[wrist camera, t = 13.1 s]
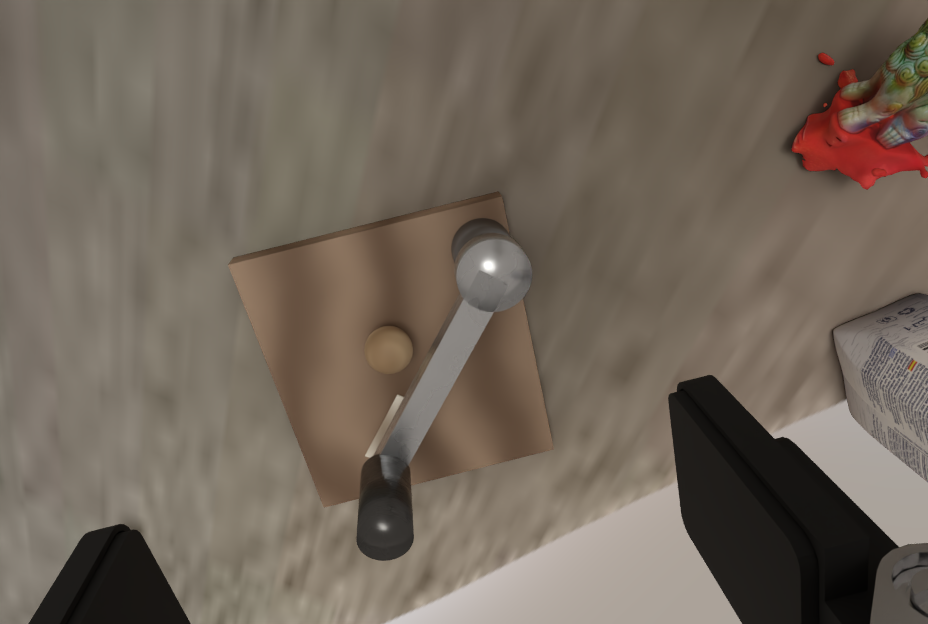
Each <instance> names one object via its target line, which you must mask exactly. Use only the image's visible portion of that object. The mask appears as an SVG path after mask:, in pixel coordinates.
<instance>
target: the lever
mask: <svg viewBox="0 0 928 624" xmlns="http://www.w3.org/2000/svg"><path fill="white" fill-rule="evenodd" d="M454 273H455V279H456V282H457V286H458V289H459V292H460V293H459V295H458V297H457V299H456V301H455V302H454V304H453V306H452V308H451V310H450V312H449V314H448V316H447V317H446V319H445V321H444V323H443V325H442V327H441V329H440V331H439V332H438V334H437V336H436V338H435V340H434V342H433V344H432V346H431V347H430V349H429V351H428V353H427V355H426V357H425V359H424V361H423V362H422V364H421V366H420V368H419V370H418V372H417V374H416V376H415V377H414V379H413V381H412V383H411V385H410V387H409V389H408V391H407V392H406V394H405V396H404V398H403V400H402V402H401V404H400V406H399V408H398V409H397V411H396V413H395V415H394V417H393V419H392V421H391V423H390V424H389V426H388V428H387V430H386V432H385V434H384V436H383V438H382V439H381V441H380V443H379V445H378V447H377V449H376V451H375V453H374V454H373V456H372V457H370V458H369V459H368V460H367V461H366V462H365V463H364V465H363V467H362V469H361V478H360V494H359V509H358V524H357V545H358V547H359V549H360V550H361V552H362V553H363V554H365V555H366V556H368V557H370V558H372V559H375V560H382V561H385V560H392V559H396V558H398V557H400V556H402V555H404V554H405V553H406V552H407V551H408V550H409V549H410V547H411V546H412V543H413V539H414V534H413V513H412V493H411V472H410V467H409V464H410V462H411V460H412V458H413V456H414V455H415V453H416V451H417V449H418V447H419V446H420V444H421V442H422V440H423V438H424V437H425V435H426V433H427V431H428V429H429V428H430V426H431V424H432V422H433V420H434V419H435V417H436V415H437V413H438V411H439V410H440V408H441V406H442V404H443V403H444V401H445V399H446V397H447V395H448V394H449V392H450V390H451V388H452V386H453V385H454V383H455V381H456V379H457V377H458V376H459V374H460V372H461V370H462V368H463V367H464V365H465V363H466V361H467V359H468V358H469V356H470V354H471V352H472V350H473V349H474V347H475V345H476V343H477V341H478V340H479V338H480V336H481V334H482V332H483V331H484V329H485V327H486V325H487V324H488V322H489V320H490V318H491V316H492V315H493V313H494V312H499V311H504V310H507V309H509V308H511V307H513V306H514V305H516V304H517V303H519V302H520V301H521V300H522V299H523V297H524V296H525V295H526V293H527V292H528V290H529V288H530V285H531V281H532V268H531V264H530V261H529V259H528V257H527V255H526V254H525V252H524V251H523V249H522V248H521V246H520V245H519V244H518V243H517V242H516V241H515V240H513V239H512V238H510V237H509V236H506V235H503V234H500V233H486V234H482V235H479V236H476V237H474V238H473V239H471V240H470V241H468V242H467V243H466V244H465V245H464V246H463V247H462V248H461V250H460V251H459V253H458V255H457V257H456V261H455V266H454Z"/></svg>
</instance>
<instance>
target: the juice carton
mask: <svg viewBox="0 0 928 624" xmlns="http://www.w3.org/2000/svg"><path fill="white" fill-rule="evenodd" d="M833 335H834V342H835V347H836V351H837V354H838V358H839V361H840V364H841V368H842V372H843V377H844V383H845V390H846V397H847V402H848V406H849V410H850V413H851V415H852V416H853V418H854V419H855V420H856V421H857V422H858V423H859V424H860V425H861V426H862V427H863V428H864V429H865V430H866V431H867V432H868V433H869V434H870V435H871V436H873V438H875V439H876V440H877V441H878V442H880V443H881V444H882V445H883V446H884V447H885V448H887V449H888V450H889V451H890V452H892V453H893V454H894V455H895V456H897V457H898V458H899V459H900V460H901V461H902V462H904V463H905V464H906V465H907V466H909V467H910V468H911V469H912V470H913V471H915V472H916V473H917V474H918V475H920V476H921V477H922V478H923V479H924V480H926V481H927V482H928V295H926V294H921V293H919V294H914V295H911V296H908V297H906V298H904V299H901V300H899V301H897V302H895V303H893V304H890V305H888V306H886V307H884V308H882V309H880V310H877V311H875V312H873V313H870V314H868V315H865V316H863V317H860V318H857V319H855V320H852V321H850V322H847V323H845V324H843V325H841V326H839V327H837V328H835V329H834V331H833Z"/></svg>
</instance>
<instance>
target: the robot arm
mask: <svg viewBox="0 0 928 624" xmlns="http://www.w3.org/2000/svg"><path fill="white" fill-rule="evenodd" d="M668 400H669V410H670V419H671V428H672V437H673V445H674V454H675V463H676V472H677V480H678V489H679V498H680V507H681V514H682V519H683V522H684V525H685V528H686V530H687V533H688V535H689V536H690V538H691V540H692V541H693V543H694V545H695V546H696V548H697V550H698V551H699V553H700V555H701V556H702V558H703V560H704V561H705V563H706V565H707V566H708V568H709V569H710V571H711V573H712V574H713V576H714V578H715V579H716V581H717V582H718V584H719V586H720V588H721V589H722V591H723V593H724V594H725V596H726V598H727V599H728V601H729V602H730V604H731V606H732V608H733V609H734V611H735V612H736V614H737V616H738V617H739V619H740V621H741V622H742V624H928V543H922V544H908V545H905V546H902V547H898V546H897V545H896V544H895V543H894V542H893V541H892V540H891V539H890V538H889V537H888V536H887V535H886V534H885V533H884V532H883V531H882V530H881V529H880V528H879V527H878V526H877V525H876V524H875V523H874V522H873V521H872V520H871V519H870V518H869V517H868V516H867V515H866V514H865V513H864V512H863V511H862V510H861V509H860V508H859V507H858V506H857V505H856V504H855V503H854V502H853V501H852V500H851V499H850V498H849V497H848V496H847V495H846V494H845V493H844V492H843V491H842V490H841V489H840V488H839V487H838V486H837V485H836V484H835V483H834V482H833V481H832V480H831V479H830V478H829V477H828V476H827V475H826V474H825V473H824V472H823V471H822V470H821V469H820V468H819V467H818V466H817V465H816V464H815V463H814V462H813V461H812V460H811V459H810V458H809V457H808V456H807V455H806V454H805V453H804V452H803V451H802V450H801V449H800V448H799V447H798V446H797V445H796V444H795V443H793V442H792V441H791V440H790V439H788V438H784V437H781V438H777V439H774V438H773V437H772V436H771V435H770V434H769V433H768V432H767V431H766V430H765V429H764V428H763V426H762V425H761V424H760V423H759V422H758V421H757V420H756V419H755V418H754V417H753V416H752V415H751V414H750V413H749V412H748V411H747V410H746V409H745V408H744V407H743V406H742V405H741V404H740V403H739V402H738V401H737V400H736V399H735V397H734V396H733V395H732V394H731V393H730V392H729V391H728V390H727V389H726V388H725V387H724V386H723V385H722V384H721V383H720V382H719V381H718V380H717V379H716V378H715V377H714V376H712V375H707V376H704V377H700V378H696V379H692V380H688V381H684V382H680V383H679V384H678V386H677V392H675V393H671V394H669V398H668ZM29 624H190V622H189V620H188V618H187V616H186V614H185V613H184V611H183V609H182V607H181V605H180V604H179V602H178V600H177V598H176V596H175V594H174V593H173V591H172V589H171V587H170V585H169V584H168V582H167V580H166V578H165V576H164V574H163V573H162V571H161V569H160V567H159V565H158V564H157V562H156V560H155V558H154V556H153V555H152V553H151V551H150V549H149V547H148V545H147V544H146V542H145V540H144V538H143V536H142V535H141V533H140V532H139V531H137V530H130V528H129V527H127V526H126V525H124V524H119V525H115V526H111V527H107V528H103V529H99V530H95V531H91V532H88V533H86V534H85V535H84V536H83V537H82V538H81V540H80V541H79V543H78V545H77V546H76V548H75V549H74V551H73V553H72V554H71V556H70V557H69V559H68V561H67V562H66V564H65V566H64V567H63V569H62V570H61V572H60V574H59V575H58V577H57V578H56V580H55V582H54V583H53V585H52V587H51V588H50V590H49V591H48V593H47V595H46V596H45V598H44V600H43V601H42V603H41V604H40V606H39V608H38V609H37V611H36V612H35V614H34V616H33V617H32V619H31V621H30V622H29Z"/></svg>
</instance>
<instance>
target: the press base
mask: <svg viewBox="0 0 928 624" xmlns="http://www.w3.org/2000/svg"><path fill="white" fill-rule="evenodd" d="M486 233H500V234H503V235H506V236H509V237H510V238H511V236H510V233H509V228H508V223H507V218H506V213H505V208H504V203H503V198H502V196H501V194H500V193H499V192H495V193H491V194H487V195H483V196H479V197H475V198H471V199H467V200H463V201H459V202H455V203H451V204H447V205H443V206H439V207H435V208H430V209H426V210H422V211H418V212H414V213H410V214H406V215H402V216H398V217H394V218H390V219H386V220H382V221H378V222H374V223H370V224H366V225H362V226H358V227H354V228H350V229H346V230H342V231H338V232H334V233H330V234H326V235H322V236H318V237H314V238H310V239H306V240H302V241H298V242H294V243H290V244H286V245H282V246H278V247H274V248H270V249H266V250H262V251H258V252H254V253H250V254H246V255H242V256H238V257H234V258H233V259H232V260H231V262H230V263H229V264H228V266H229V268H230V271H231V273H232V276H233V278H234V281H235V284H236V286H237V289H238V291H239V294H240V296H241V299H242V301H243V304H244V306H245V309H246V311H247V314H248V316H249V319H250V321H251V324H252V327H253V329H254V332H255V334H256V337H257V339H258V342H259V344H260V347H261V349H262V352H263V354H264V357H265V359H266V362H267V365H268V367H269V370H270V372H271V375H272V377H273V380H274V382H275V385H276V387H277V390H278V392H279V395H280V397H281V400H282V402H283V405H284V408H285V410H286V413H287V415H288V418H289V420H290V423H291V425H292V428H293V430H294V433H295V435H296V438H297V440H298V443H299V446H300V448H301V451H302V453H303V456H304V458H305V461H306V463H307V466H308V468H309V471H310V473H311V476H312V478H313V481H314V483H315V486H316V489H317V491H318V494H319V496H320V499H321V501H322V504H323V506H324V507H328V506H332V505H336V504H340V503H343V502H347V501H351V500H355V499H359V494H360V478H361V469H362V467H363V465H364V463H365V462H366V461H367V460H368V459H369V458H370V457H372V456H373V454H374V453H375V451H376V449H377V447H378V445H379V443H380V441H381V439H382V438H383V436H384V434H385V432H386V430H387V428H388V426H389V424H390V423H391V421H392V419H393V417H394V415H395V413H396V411H397V409H398V408H399V406H400V404H401V402H402V400H403V398H404V396H405V394H406V392H407V391H408V389H409V387H410V385H411V383H412V381H413V379H414V377H415V376H416V374H417V372H418V370H419V368H420V366H421V364H422V362H423V361H424V359H425V357H426V355H427V353H428V351H429V349H430V347H431V346H432V344H433V342H434V340H435V338H436V336H437V334H438V332H439V331H440V329H441V327H442V325H443V323H444V321H445V319H446V317H447V316H448V314H449V312H450V310H451V308H452V306H453V304H454V302H455V301H456V299H457V297H458V295H459V293H460V292H459V289H458V286H457V282H456V279H455V273H454V266H455V261H456V257H457V255H458V253H459V251H460V250H461V248H462V247H463V246H464V245H465V244H466V243H467V242H468V241H470V240H471V239H473V238H474V237H476V236H479V235H482V234H486ZM553 449H554V448H553V443H552V438H551V433H550V428H549V423H548V418H547V413H546V409H545V404H544V399H543V394H542V389H541V384H540V379H539V374H538V369H537V365H536V360H535V355H534V350H533V345H532V340H531V335H530V330H529V325H528V321H527V316H526V311H525V306H524V301H523V299H522V300H521V301H520V302H519V303H517V304H516V305H514V306H513V307H511V308H509V309H507V310H504V311H499V312H494V313H493V315H492V316H491V318H490V320H489V322H488V324H487V325H486V327H485V329H484V331H483V332H482V334H481V336H480V338H479V340H478V341H477V343H476V345H475V347H474V349H473V350H472V352H471V354H470V356H469V358H468V359H467V361H466V363H465V365H464V367H463V368H462V370H461V372H460V374H459V376H458V377H457V379H456V381H455V383H454V385H453V386H452V388H451V390H450V392H449V394H448V395H447V397H446V399H445V401H444V403H443V404H442V406H441V408H440V410H439V411H438V413H437V415H436V417H435V419H434V420H433V422H432V424H431V426H430V428H429V429H428V431H427V433H426V435H425V437H424V438H423V440H422V442H421V444H420V446H419V447H418V449H417V451H416V453H415V455H414V456H413V458H412V460H411V462H410V464H409V467H410V472H411V485H414V484H418V483H422V482H426V481H430V480H434V479H438V478H442V477H446V476H450V475H454V474H458V473H462V472H466V471H470V470H474V469H478V468H482V467H485V466H489V465H493V464H497V463H501V462H505V461H509V460H513V459H517V458H521V457H525V456H529V455H533V454H537V453H541V452H545V451H549V450H553Z"/></svg>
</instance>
